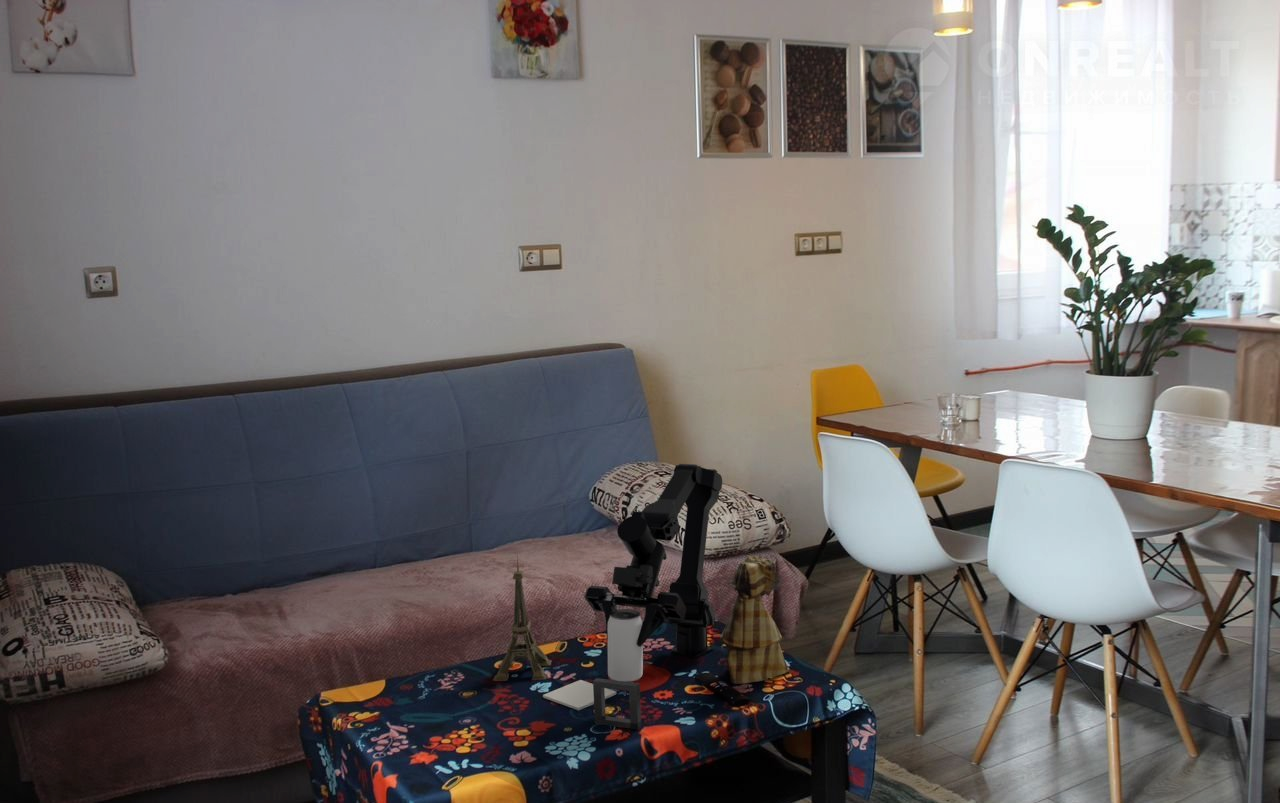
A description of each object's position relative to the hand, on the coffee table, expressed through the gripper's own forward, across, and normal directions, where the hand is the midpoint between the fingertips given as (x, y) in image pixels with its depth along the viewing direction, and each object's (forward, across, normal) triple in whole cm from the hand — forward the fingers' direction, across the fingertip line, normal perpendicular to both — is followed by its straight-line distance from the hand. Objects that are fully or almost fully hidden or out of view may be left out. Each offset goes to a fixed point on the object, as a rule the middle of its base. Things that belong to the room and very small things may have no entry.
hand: (623, 644), depth 210 cm
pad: (+6, -12, +13) cm, 18 cm away
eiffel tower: (0, -29, +19) cm, 35 cm away
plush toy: (-9, +15, +28) cm, 34 cm away
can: (+4, -1, +6) cm, 7 cm away
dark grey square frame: (+13, +1, +5) cm, 14 cm away
